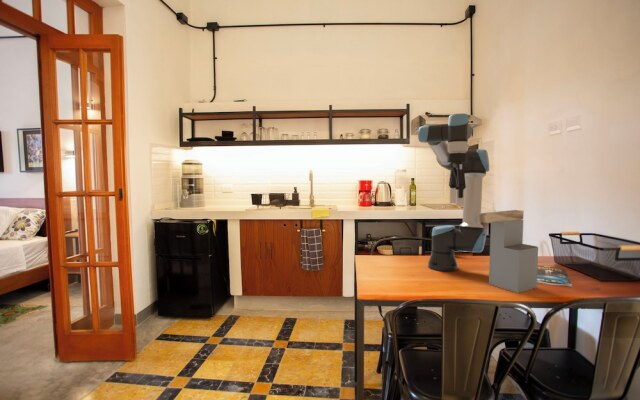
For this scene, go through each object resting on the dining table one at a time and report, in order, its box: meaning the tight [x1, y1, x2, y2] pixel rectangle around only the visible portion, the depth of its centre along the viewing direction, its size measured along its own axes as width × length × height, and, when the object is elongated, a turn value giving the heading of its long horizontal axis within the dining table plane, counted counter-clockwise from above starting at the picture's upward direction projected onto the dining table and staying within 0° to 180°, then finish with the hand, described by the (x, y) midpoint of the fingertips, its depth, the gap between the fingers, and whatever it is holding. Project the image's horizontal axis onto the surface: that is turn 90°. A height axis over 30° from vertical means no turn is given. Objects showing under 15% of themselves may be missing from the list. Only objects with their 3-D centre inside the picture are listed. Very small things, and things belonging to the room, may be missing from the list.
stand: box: [488, 219, 539, 294], centre depth 149 cm, size 14×14×30 cm
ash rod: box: [479, 209, 525, 224], centre depth 149 cm, size 4×26×4 cm, turn 118°
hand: (456, 204), depth 135 cm, fingers open, 13 cm apart
